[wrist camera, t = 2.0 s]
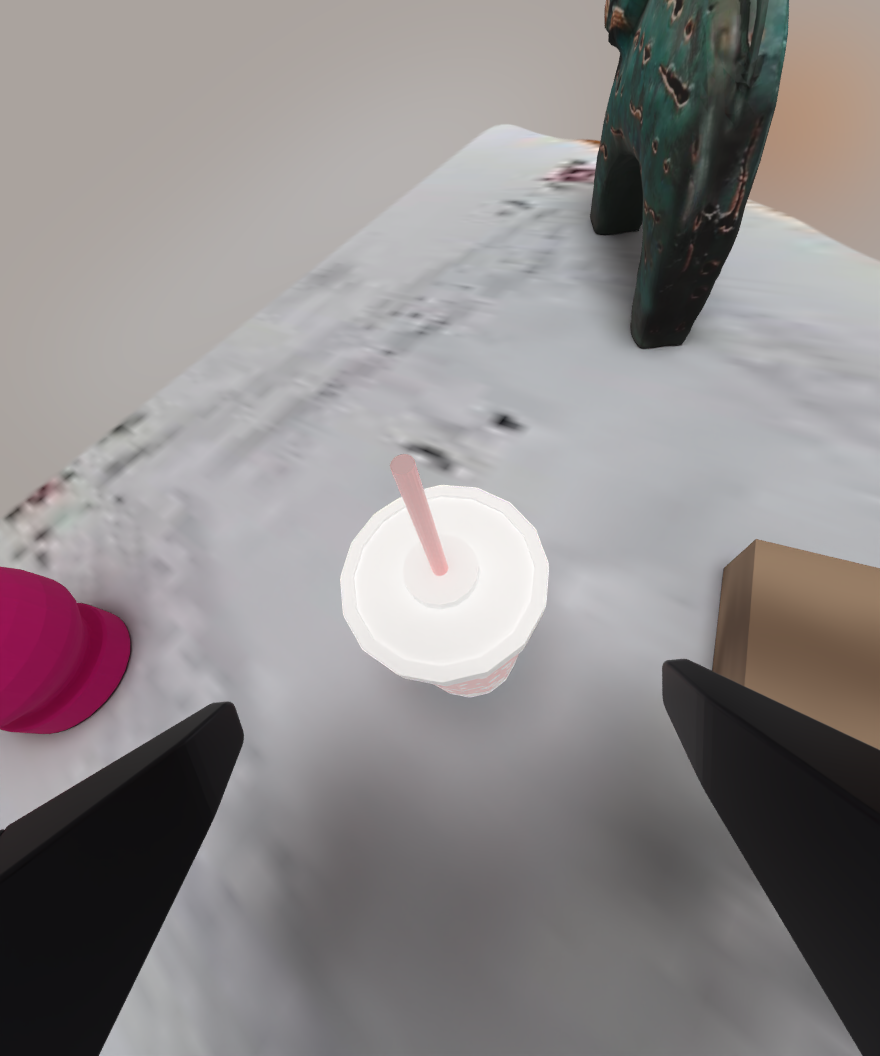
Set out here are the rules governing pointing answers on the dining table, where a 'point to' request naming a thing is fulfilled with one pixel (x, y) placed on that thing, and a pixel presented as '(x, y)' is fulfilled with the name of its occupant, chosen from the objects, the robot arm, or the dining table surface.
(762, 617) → the walnut block
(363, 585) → the beverage cup
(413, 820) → the dining table surface
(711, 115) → the ceramic cat
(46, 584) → the pepper mill
